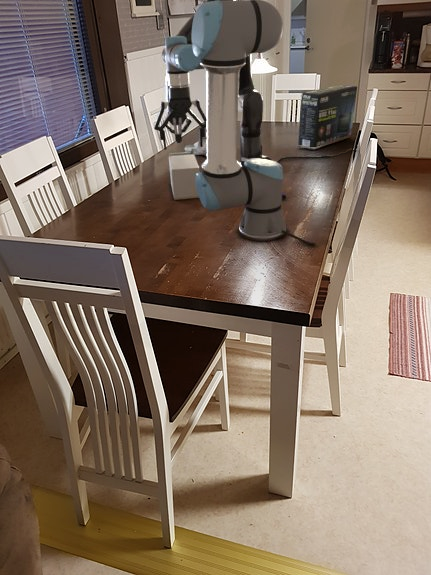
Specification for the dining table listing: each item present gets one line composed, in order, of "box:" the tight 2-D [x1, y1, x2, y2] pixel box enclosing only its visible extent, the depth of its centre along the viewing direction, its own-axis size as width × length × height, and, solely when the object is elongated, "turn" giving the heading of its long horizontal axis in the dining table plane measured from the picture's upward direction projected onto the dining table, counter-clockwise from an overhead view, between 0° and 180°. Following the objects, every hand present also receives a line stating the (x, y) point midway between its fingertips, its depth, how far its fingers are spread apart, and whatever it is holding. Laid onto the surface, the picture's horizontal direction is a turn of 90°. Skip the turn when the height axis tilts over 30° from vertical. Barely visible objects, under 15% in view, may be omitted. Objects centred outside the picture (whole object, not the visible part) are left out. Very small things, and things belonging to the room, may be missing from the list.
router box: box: [297, 84, 358, 151], centre depth 238 cm, size 36×11×27 cm, turn 134°
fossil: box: [184, 137, 207, 157], centre depth 236 cm, size 18×11×15 cm
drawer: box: [168, 151, 192, 157], centre depth 195 cm, size 24×9×10 cm, turn 8°
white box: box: [168, 153, 200, 201], centre depth 184 cm, size 20×10×12 cm, turn 8°
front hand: (183, 147), depth 172 cm, fingers open, 13 cm apart
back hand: (178, 142), depth 198 cm, fingers closed
